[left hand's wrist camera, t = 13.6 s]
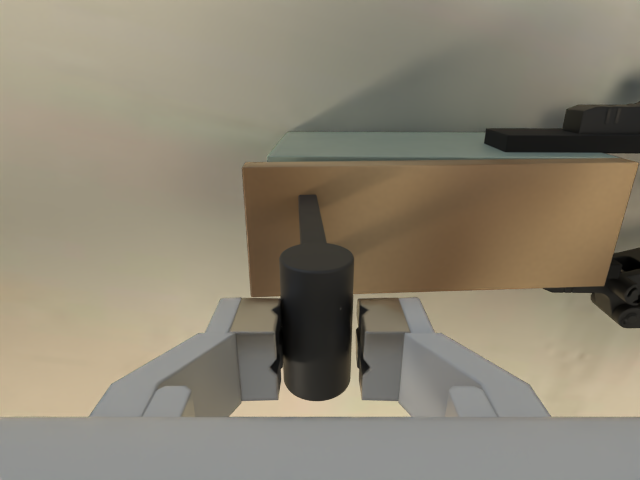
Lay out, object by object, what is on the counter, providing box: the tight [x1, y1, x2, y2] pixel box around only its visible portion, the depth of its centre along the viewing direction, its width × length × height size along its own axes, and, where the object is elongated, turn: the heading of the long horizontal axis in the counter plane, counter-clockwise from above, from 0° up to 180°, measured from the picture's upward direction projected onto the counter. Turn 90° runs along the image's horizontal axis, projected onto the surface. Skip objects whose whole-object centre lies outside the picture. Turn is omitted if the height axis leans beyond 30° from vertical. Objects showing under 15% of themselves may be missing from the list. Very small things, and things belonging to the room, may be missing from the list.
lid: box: [242, 158, 639, 401], centre depth 14 cm, size 15×5×8 cm, turn 90°
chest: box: [267, 132, 619, 162], centre depth 22 cm, size 15×5×9 cm, turn 90°
